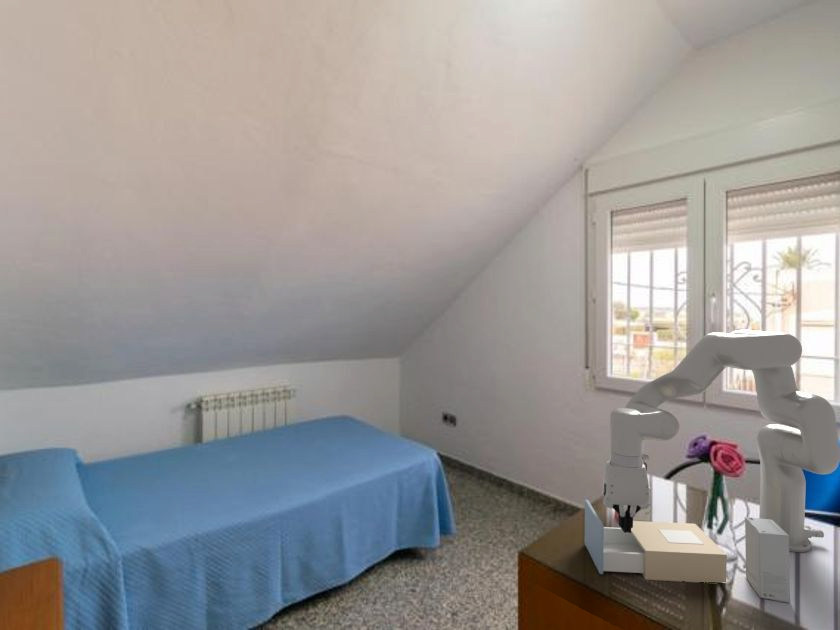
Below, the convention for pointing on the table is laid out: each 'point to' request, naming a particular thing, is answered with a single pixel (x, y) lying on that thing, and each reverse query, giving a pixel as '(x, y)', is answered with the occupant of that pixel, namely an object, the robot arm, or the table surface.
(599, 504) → the table surface
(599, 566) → the tray
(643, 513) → the ink cartridge box
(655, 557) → the sleeve
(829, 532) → the table surface
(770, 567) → the skincare box
